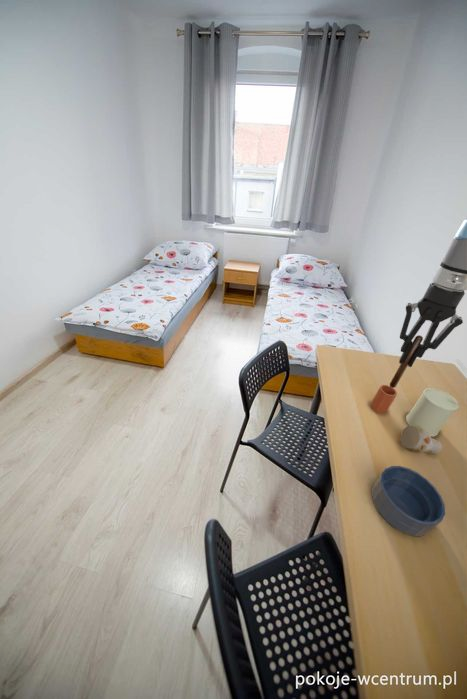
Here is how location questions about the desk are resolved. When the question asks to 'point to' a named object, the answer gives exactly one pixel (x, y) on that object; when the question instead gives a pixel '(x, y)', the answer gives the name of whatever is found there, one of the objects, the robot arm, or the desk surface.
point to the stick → (406, 361)
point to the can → (432, 411)
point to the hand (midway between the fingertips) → (405, 362)
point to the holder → (383, 399)
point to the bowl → (408, 501)
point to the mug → (419, 440)
